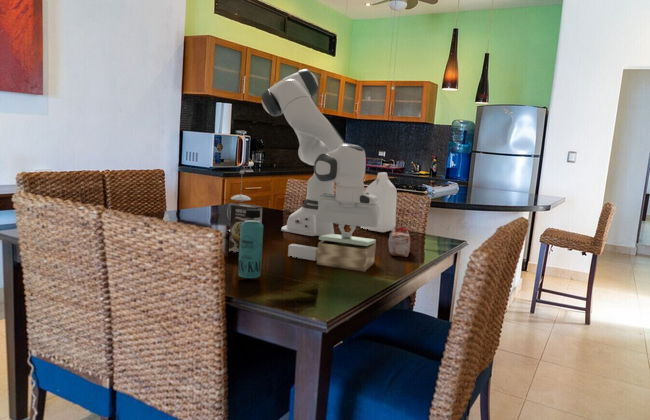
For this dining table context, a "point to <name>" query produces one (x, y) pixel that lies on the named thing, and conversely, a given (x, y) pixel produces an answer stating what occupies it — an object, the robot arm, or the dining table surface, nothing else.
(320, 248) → the box
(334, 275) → the dining table surface
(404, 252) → the food item
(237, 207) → the coffee box
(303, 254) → the white rectangular block
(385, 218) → the milk
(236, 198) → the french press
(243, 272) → the beverage bottle
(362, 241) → the lid
